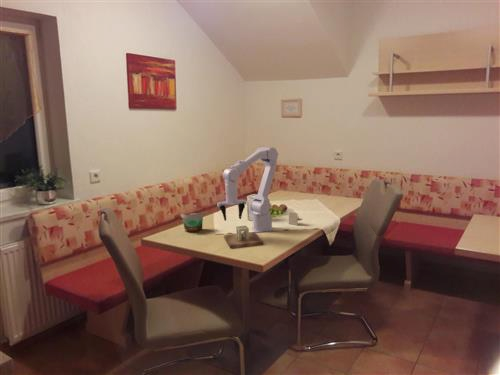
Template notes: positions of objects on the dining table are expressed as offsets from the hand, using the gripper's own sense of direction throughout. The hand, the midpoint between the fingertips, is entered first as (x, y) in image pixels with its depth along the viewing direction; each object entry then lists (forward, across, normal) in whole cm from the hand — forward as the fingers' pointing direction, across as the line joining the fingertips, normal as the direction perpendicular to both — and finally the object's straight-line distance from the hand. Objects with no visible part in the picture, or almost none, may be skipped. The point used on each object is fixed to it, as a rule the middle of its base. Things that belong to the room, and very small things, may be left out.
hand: (232, 219), depth 209 cm
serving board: (+9, +3, -8) cm, 13 cm away
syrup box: (+10, +19, +27) cm, 34 cm away
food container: (+10, -18, +17) cm, 26 cm away
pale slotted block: (+8, +3, -8) cm, 12 cm away
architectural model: (+10, +36, +9) cm, 39 cm away
